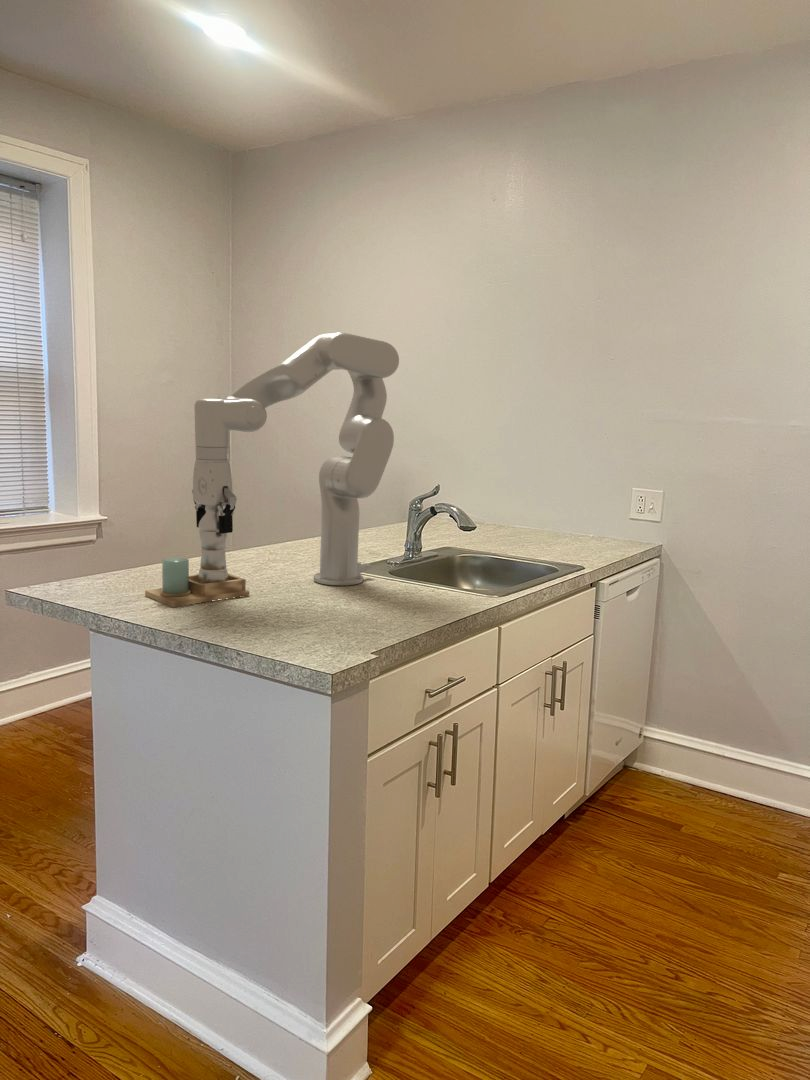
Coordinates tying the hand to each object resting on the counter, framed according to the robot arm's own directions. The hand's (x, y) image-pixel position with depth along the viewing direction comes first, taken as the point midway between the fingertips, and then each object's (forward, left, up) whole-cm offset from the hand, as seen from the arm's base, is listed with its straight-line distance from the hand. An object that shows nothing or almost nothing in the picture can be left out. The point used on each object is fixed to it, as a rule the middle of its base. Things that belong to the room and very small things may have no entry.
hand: (214, 529), depth 182 cm
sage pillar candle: (+10, 0, -13) cm, 16 cm away
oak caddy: (+4, 0, -15) cm, 15 cm away
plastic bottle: (0, 0, -14) cm, 14 cm away
